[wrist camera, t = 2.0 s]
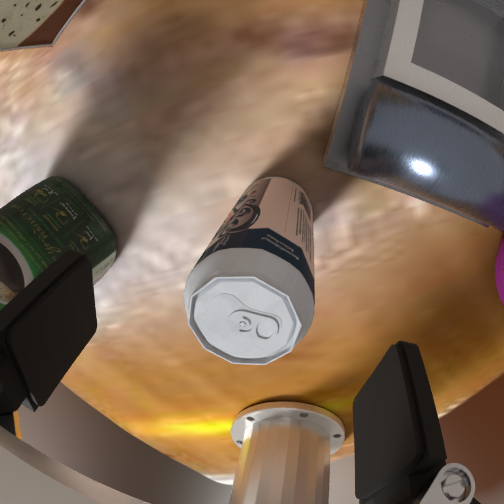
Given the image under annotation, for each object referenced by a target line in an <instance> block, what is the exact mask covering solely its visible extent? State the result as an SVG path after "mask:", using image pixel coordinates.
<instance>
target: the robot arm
mask: <svg viewBox="0 0 504 504" xmlns="http://www.w3.org/2000/svg"><path fill="white" fill-rule="evenodd" d="M96 329H97V318H96V309H95V299H94V287H93V274H92V263H91V261H90V260H89V259H88V256H87V255H86V254H85V253H82V252H79V251H76V250H73V249H69V250H68V251H66V252H65V253H64V254H63V255H62V256H60V257H59V258H58V259H57V260H56V261H54V262H53V263H52V264H51V265H50V266H49V267H47V268H46V269H45V270H44V271H43V272H42V273H40V274H39V275H38V276H37V277H36V278H35V279H34V280H33V281H31V282H30V283H29V284H28V285H27V286H26V287H25V288H24V289H23V290H21V291H20V292H19V293H18V294H17V295H16V296H15V297H14V298H13V299H12V300H11V301H10V302H9V303H8V304H6V305H5V306H4V307H3V308H2V309H1V310H0V504H150V503H147V502H144V501H142V500H139V499H136V498H134V497H131V496H129V495H126V494H124V493H121V492H119V491H116V490H114V489H112V488H110V487H107V486H105V485H102V484H100V483H98V482H96V481H94V480H92V479H90V478H88V477H86V476H84V475H82V474H80V473H78V472H76V471H74V470H72V469H70V468H68V467H66V466H64V465H62V464H61V463H59V462H57V461H55V460H53V459H52V458H50V457H48V456H46V455H45V454H43V453H41V452H40V451H38V450H36V449H35V448H33V447H32V446H30V445H29V444H27V443H25V442H24V441H22V437H21V431H20V424H19V416H18V408H19V407H20V405H21V404H22V405H24V406H26V407H27V408H29V409H30V410H32V411H34V412H35V410H36V409H37V408H38V406H43V405H44V404H45V403H46V401H47V400H48V398H49V397H50V395H51V394H52V392H53V391H54V389H55V388H56V387H57V385H58V384H59V382H60V381H61V379H62V378H63V377H64V375H65V374H66V372H67V371H68V370H69V368H70V367H71V365H72V364H73V363H74V361H75V360H76V358H77V357H78V356H79V354H80V353H81V351H82V350H83V349H84V347H85V346H86V345H87V343H88V342H89V341H90V339H91V338H92V337H93V335H94V334H95V332H96ZM353 421H354V446H355V495H356V498H358V499H359V504H480V503H479V502H478V501H477V500H476V499H475V498H474V497H473V495H474V492H475V482H474V479H473V476H472V474H471V473H470V471H469V470H468V469H467V468H466V467H464V466H462V465H461V464H457V463H451V464H448V465H446V462H445V459H447V456H446V451H445V447H444V442H443V437H442V432H441V428H440V424H439V419H438V415H437V411H436V407H435V403H434V399H433V395H432V392H431V388H430V384H429V381H428V377H427V374H426V370H425V367H424V364H423V360H422V357H421V354H420V351H419V348H418V346H417V345H416V344H413V343H408V342H403V341H399V342H397V344H396V345H391V347H390V348H389V349H388V351H387V352H386V354H385V356H384V357H383V359H382V360H381V362H380V363H379V364H378V366H377V367H376V369H375V370H374V372H373V373H372V375H371V376H370V378H369V379H368V380H367V382H366V383H365V385H364V386H363V387H362V389H361V390H360V391H359V393H358V394H357V396H356V397H355V399H354V402H353ZM231 437H232V439H233V441H234V442H235V444H236V445H237V446H238V447H239V448H240V449H241V452H240V457H239V461H238V465H237V470H236V474H235V478H234V483H233V487H232V492H231V495H230V500H229V504H328V503H329V483H330V455H332V454H334V453H335V452H336V451H337V450H339V449H340V447H341V446H342V445H343V443H344V440H345V429H344V425H343V423H342V422H341V420H340V419H339V418H338V417H337V416H335V415H334V414H333V413H331V412H329V411H327V410H326V409H323V408H320V407H318V406H315V405H310V404H306V403H300V402H287V401H278V402H268V403H263V404H258V405H255V406H252V407H249V408H247V409H245V410H243V411H241V412H240V413H239V414H238V415H237V416H236V417H235V419H234V420H233V423H232V427H231Z"/></svg>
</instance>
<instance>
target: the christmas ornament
mask: <svg viewBox="0 0 504 504" xmlns="http://www.w3.org/2000/svg"><path fill="white" fill-rule="evenodd" d="M495 282H496V287H497V291H498V294H499V297H500V299H501V302H502V303H503V305H504V237H503V239H502V241H501V243H500V246H499V249H498V252H497V256H496V261H495Z"/></svg>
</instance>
